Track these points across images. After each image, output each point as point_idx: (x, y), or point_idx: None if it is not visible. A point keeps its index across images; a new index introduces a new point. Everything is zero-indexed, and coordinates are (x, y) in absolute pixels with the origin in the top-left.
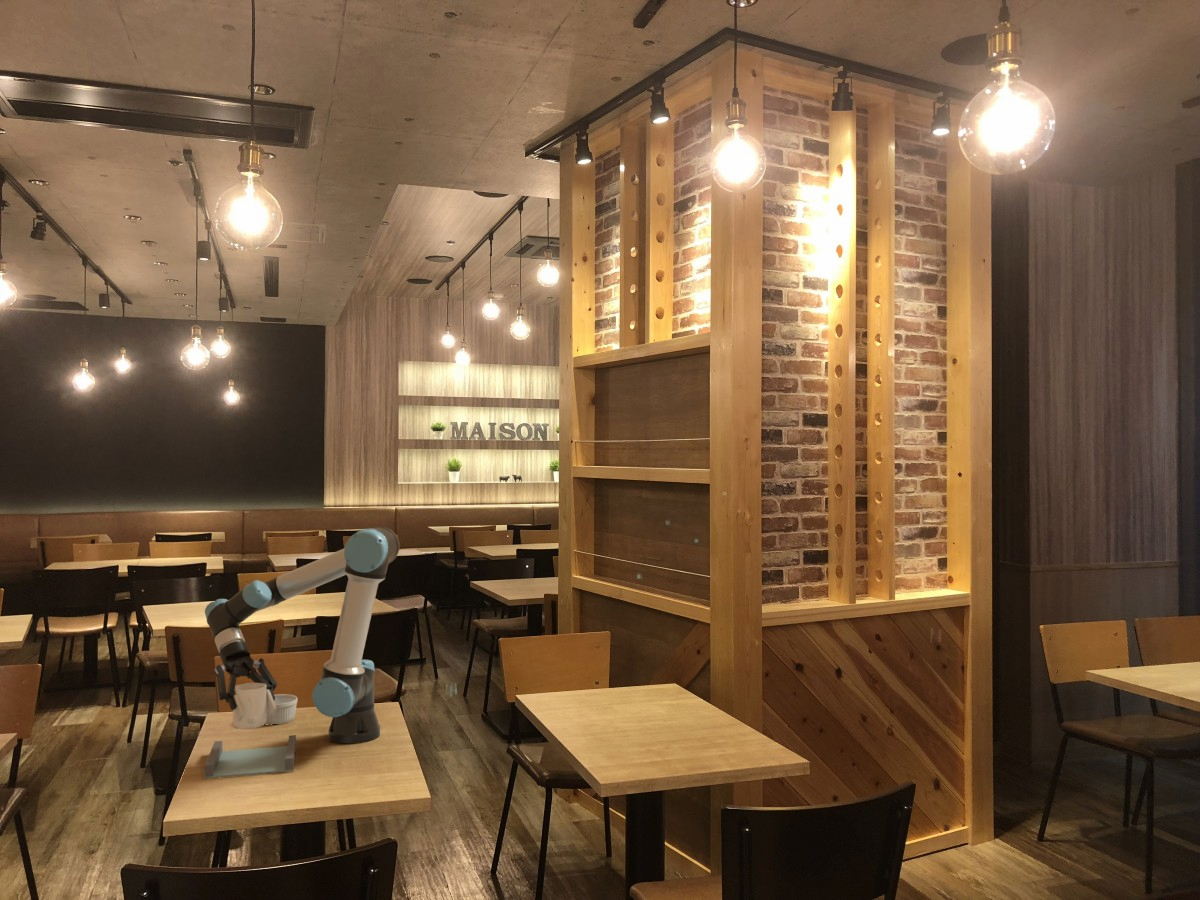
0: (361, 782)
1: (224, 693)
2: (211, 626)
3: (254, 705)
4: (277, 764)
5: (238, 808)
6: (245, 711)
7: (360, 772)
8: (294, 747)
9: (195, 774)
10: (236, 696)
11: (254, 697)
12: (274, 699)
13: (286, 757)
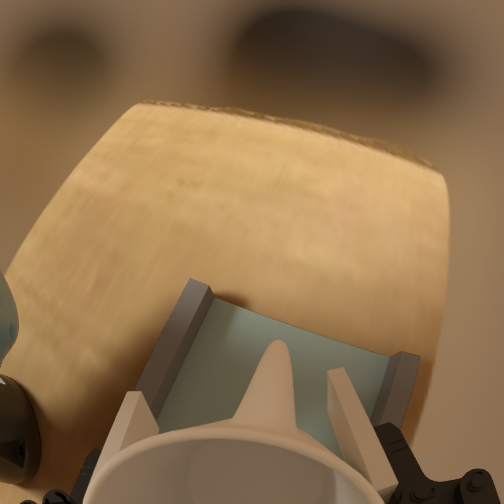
0: (140, 167)
1: (475, 476)
2: None
3: (273, 341)
4: (212, 356)
5: (358, 162)
6: (303, 432)
7: (109, 210)
8: (142, 372)
9: (415, 415)
10: (380, 476)
11: (255, 384)
12: (98, 450)
13: (201, 294)
